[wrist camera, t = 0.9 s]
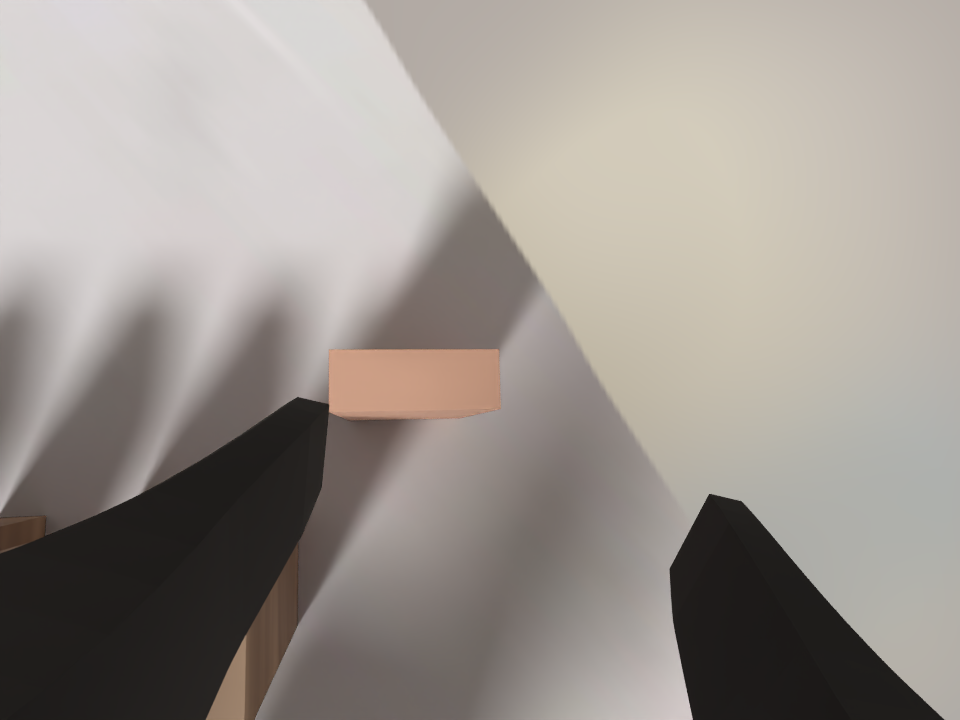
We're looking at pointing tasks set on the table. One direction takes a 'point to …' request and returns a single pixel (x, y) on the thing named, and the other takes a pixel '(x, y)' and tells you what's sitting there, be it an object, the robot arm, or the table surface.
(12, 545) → the walnut tile
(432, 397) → the terracotta tile
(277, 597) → the walnut tile
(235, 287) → the table surface
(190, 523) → the robot arm
